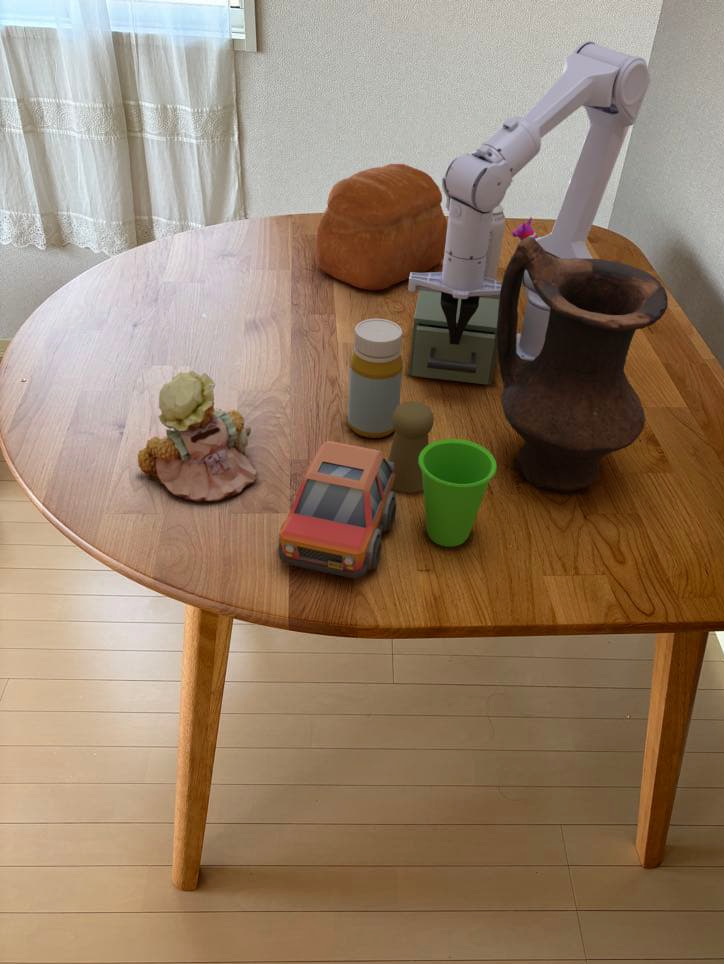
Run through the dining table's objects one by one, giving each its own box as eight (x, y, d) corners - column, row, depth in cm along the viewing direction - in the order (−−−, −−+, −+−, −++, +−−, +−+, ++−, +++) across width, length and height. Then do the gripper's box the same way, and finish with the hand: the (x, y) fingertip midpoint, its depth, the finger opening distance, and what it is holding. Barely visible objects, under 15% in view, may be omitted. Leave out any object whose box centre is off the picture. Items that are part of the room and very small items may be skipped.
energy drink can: (501, 293, 162) (514, 210, 152) (477, 301, 158) (488, 217, 149) (478, 280, 165) (489, 197, 155) (454, 288, 162) (463, 204, 152)
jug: (641, 452, 128) (703, 247, 108) (608, 527, 114) (672, 310, 95) (500, 410, 133) (534, 207, 113) (453, 477, 120) (483, 261, 100)
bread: (454, 266, 168) (465, 174, 157) (377, 302, 156) (383, 204, 144) (384, 236, 176) (389, 146, 165) (305, 267, 163) (305, 172, 152)
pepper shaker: (425, 496, 116) (433, 425, 109) (379, 488, 117) (384, 416, 110) (433, 469, 121) (442, 399, 114) (389, 461, 122) (395, 390, 114)
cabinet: (491, 385, 138) (500, 328, 132) (408, 375, 138) (414, 318, 132) (493, 338, 149) (502, 283, 143) (417, 329, 149) (422, 274, 143)
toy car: (269, 572, 104) (267, 504, 97) (313, 486, 116) (314, 420, 110) (367, 593, 102) (371, 526, 96) (401, 503, 115) (407, 438, 108)
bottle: (404, 419, 129) (413, 324, 119) (386, 445, 124) (393, 348, 114) (359, 406, 131) (364, 312, 121) (339, 432, 126) (343, 335, 116)
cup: (407, 509, 114) (415, 437, 107) (478, 510, 115) (490, 438, 108) (414, 558, 107) (422, 485, 100) (489, 558, 109) (503, 485, 101)
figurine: (233, 429, 124) (229, 334, 114) (280, 487, 117) (280, 391, 106) (127, 461, 117) (112, 363, 107) (169, 525, 110) (158, 426, 99)
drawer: (486, 401, 133) (494, 354, 128) (409, 392, 133) (413, 345, 128) (490, 341, 146) (497, 296, 141) (420, 332, 147) (424, 287, 142)
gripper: (409, 256, 119) (401, 348, 128) (519, 269, 119) (504, 360, 128) (414, 235, 124) (406, 325, 133) (520, 247, 124) (505, 336, 133)
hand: (454, 341), depth 131 cm, fingers closed
